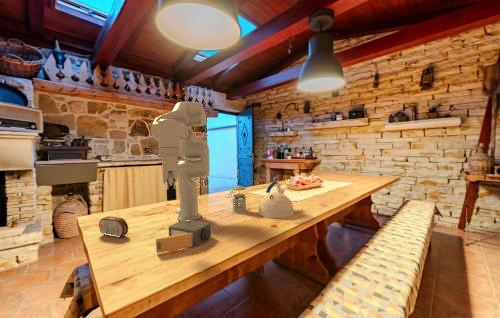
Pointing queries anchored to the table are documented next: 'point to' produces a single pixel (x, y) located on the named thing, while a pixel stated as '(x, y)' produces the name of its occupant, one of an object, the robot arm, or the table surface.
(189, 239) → the side door
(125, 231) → the tin
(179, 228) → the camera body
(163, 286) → the table surface
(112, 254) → the table surface
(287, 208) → the kettle
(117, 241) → the table surface
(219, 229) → the table surface
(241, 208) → the french press
